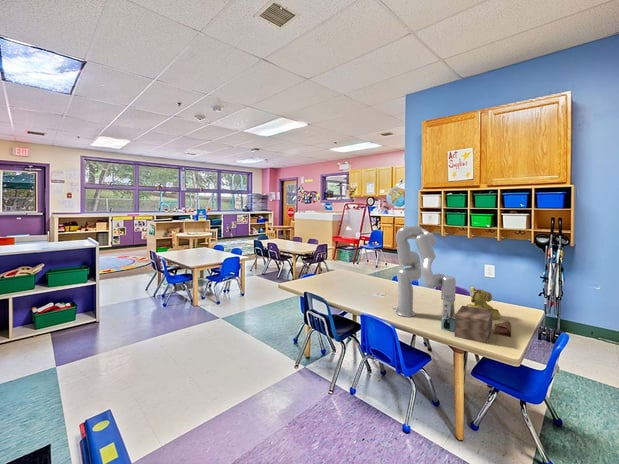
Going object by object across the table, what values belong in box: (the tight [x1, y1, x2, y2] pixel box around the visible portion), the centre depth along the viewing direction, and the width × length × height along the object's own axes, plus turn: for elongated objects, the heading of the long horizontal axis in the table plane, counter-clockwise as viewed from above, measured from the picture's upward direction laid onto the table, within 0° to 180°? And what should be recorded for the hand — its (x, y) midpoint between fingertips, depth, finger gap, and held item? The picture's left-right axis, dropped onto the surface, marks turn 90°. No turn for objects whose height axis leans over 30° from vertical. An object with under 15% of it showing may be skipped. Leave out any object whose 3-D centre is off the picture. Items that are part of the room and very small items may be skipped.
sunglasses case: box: [493, 320, 512, 337], centre depth 177 cm, size 18×7×7 cm
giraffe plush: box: [465, 286, 501, 320], centre depth 200 cm, size 20×24×19 cm
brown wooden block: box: [454, 305, 494, 345], centre depth 172 cm, size 16×20×12 cm
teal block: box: [440, 316, 455, 333], centre depth 178 cm, size 14×5×6 cm, turn 53°
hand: (447, 326), depth 181 cm, fingers closed on teal block, 5 cm apart
